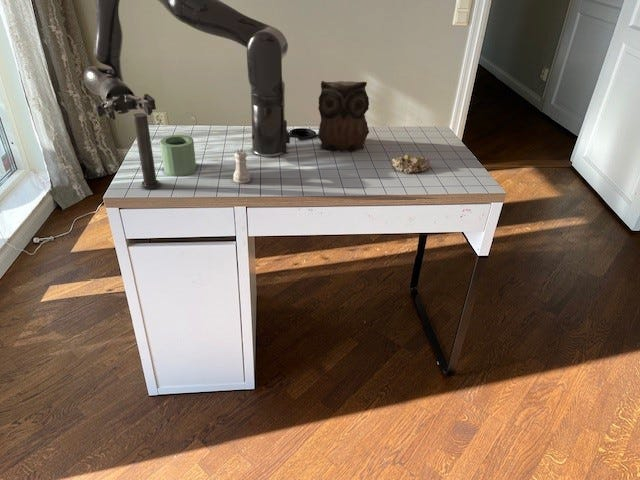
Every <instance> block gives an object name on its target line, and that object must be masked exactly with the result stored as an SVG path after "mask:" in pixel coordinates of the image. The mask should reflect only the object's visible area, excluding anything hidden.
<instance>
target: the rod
mask: <svg viewBox="0 0 640 480" xmlns="http://www.w3.org/2000/svg"><path fill="white" fill-rule="evenodd" d="M132 118H133V124H134V131H135V137H136V143H137V150H138V155H139V161H140V165H141V166H140V167H141V173H142V179H143V180H142V182H141V187H142V189H144V190H147V191H148V190H149V191H152V190H156V189H158V188H159V187H160V181H159V180H158V179H157V174H156V167H155V161H154V153H153V146H152V141H151V134H150V133H151V132H150V127H149V120H148V115H147V113H146V112H137V113H134V114H133V115H132Z"/></svg>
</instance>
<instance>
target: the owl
mask: <svg viewBox="0 0 640 480" xmlns="http://www.w3.org/2000/svg"><path fill="white" fill-rule="evenodd" d="M367 84H368V82H367V81H349V80H348V81H344V80H339V81H324V80H322V81H320V89H321V92H320V94H319V96H318V112H319V115H320V123H319V125H318V126H319V127H318V132H317V134H318V137H317V138H318V139H319V141H320V143H321V146H320V149H322V150H325V151H329V152H341V153H343V152H350V153H351V152H356V151H358V150H361V149H364V145H365V143H366V140H367V137H368V135H369V134H370V130H369V126H368V122H367V119H366V114H367V111H368V110H369V106H370V100H369V98H370V97H369V96H368V93H367V91H366V87H367Z"/></svg>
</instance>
